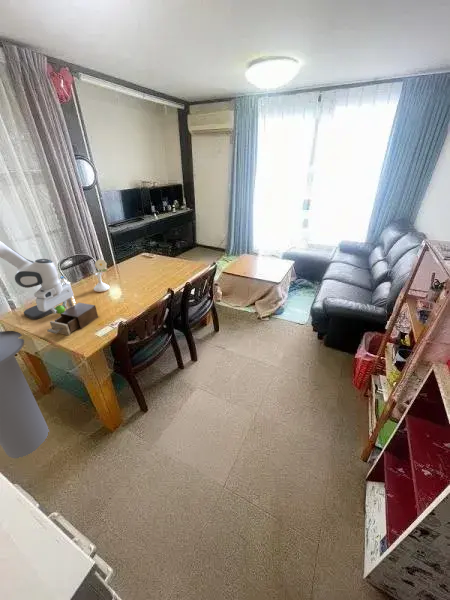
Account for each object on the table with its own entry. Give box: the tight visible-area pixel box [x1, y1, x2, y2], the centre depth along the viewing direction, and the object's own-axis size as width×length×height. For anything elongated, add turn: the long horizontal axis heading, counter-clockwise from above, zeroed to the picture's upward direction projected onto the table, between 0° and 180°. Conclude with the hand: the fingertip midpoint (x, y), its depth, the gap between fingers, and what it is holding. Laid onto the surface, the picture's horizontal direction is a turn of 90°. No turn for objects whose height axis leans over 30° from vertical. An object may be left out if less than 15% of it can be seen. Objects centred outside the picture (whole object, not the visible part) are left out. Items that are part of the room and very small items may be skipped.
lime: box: [55, 304, 65, 315], centre depth 143 cm, size 5×5×5 cm
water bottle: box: [59, 275, 77, 310], centre depth 165 cm, size 7×7×25 cm
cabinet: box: [60, 302, 99, 330], centre depth 158 cm, size 15×13×9 cm
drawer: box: [46, 315, 79, 336], centre depth 149 cm, size 18×11×7 cm, turn 164°
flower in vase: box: [93, 258, 110, 293], centre depth 194 cm, size 13×11×25 cm
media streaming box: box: [23, 304, 56, 320], centre depth 167 cm, size 15×15×3 cm
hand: (60, 310), depth 144 cm, fingers closed on lime, 4 cm apart
